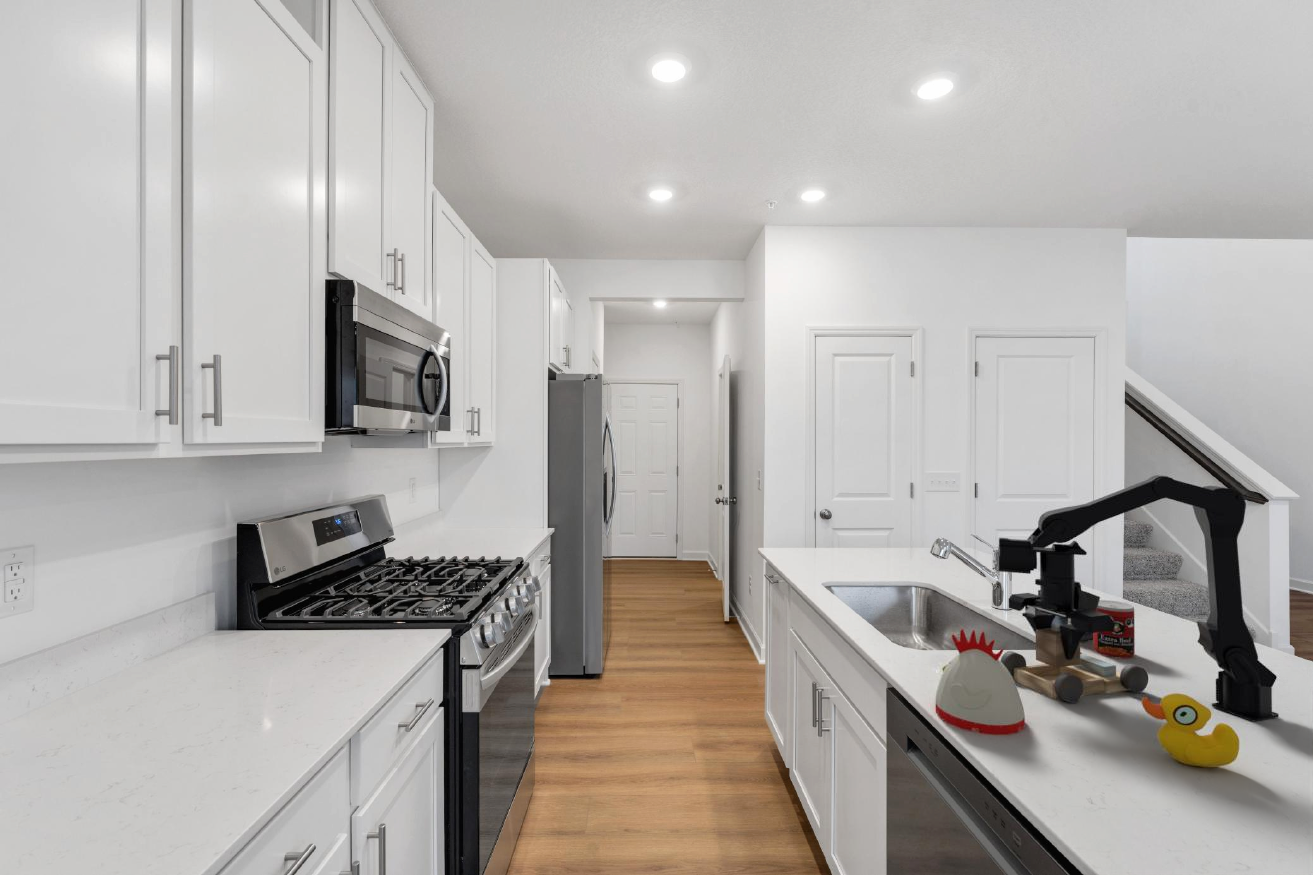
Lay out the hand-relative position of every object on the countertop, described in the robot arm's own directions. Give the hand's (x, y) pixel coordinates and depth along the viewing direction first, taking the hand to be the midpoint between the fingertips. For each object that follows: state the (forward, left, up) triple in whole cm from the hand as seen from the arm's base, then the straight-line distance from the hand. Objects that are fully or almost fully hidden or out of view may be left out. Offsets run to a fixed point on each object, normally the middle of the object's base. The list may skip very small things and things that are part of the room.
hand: (1058, 655), depth 122 cm
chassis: (0, -3, -6) cm, 7 cm away
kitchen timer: (-6, +25, -6) cm, 27 cm away
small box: (+25, -30, -6) cm, 39 cm away
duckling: (-28, +7, -6) cm, 30 cm away
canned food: (+12, -29, -6) cm, 32 cm away
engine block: (0, 0, -1) cm, 1 cm away
